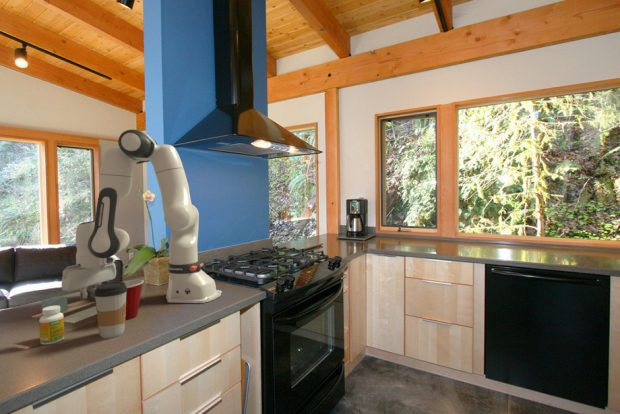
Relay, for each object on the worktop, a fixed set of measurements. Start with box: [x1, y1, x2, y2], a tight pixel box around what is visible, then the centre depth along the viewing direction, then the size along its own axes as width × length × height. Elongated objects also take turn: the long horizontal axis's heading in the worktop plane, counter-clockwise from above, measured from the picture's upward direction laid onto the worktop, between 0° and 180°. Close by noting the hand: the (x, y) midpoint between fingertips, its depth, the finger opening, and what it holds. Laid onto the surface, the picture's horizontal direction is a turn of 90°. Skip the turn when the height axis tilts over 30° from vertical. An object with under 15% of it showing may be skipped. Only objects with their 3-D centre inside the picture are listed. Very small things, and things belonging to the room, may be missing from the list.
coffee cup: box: [94, 281, 127, 339], centre depth 93 cm, size 8×8×15 cm
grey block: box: [64, 305, 97, 324], centre depth 111 cm, size 8×20×5 cm, turn 164°
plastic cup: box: [123, 279, 145, 321], centre depth 106 cm, size 11×11×12 cm
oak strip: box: [31, 288, 96, 319], centre depth 114 cm, size 8×20×5 cm, turn 164°
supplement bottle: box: [38, 306, 65, 346], centre depth 89 cm, size 5×5×10 cm
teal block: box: [41, 295, 68, 313], centre depth 109 cm, size 5×5×5 cm
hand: (91, 296), depth 122 cm, fingers closed on oak strip, 2 cm apart
